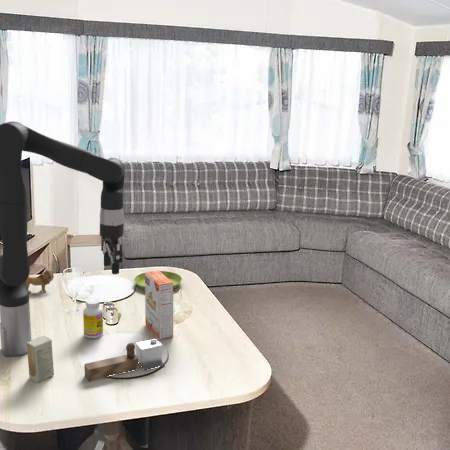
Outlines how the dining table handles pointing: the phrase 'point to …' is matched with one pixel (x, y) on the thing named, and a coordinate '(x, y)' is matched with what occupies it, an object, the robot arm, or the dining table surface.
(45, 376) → the skincare box
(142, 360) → the lever cap
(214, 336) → the dining table surface
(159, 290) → the cracker box
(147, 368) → the rubber mat
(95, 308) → the supplement bottle
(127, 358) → the body
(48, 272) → the lion figurine
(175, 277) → the saucer
